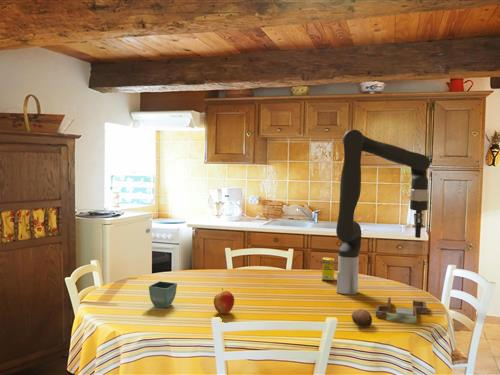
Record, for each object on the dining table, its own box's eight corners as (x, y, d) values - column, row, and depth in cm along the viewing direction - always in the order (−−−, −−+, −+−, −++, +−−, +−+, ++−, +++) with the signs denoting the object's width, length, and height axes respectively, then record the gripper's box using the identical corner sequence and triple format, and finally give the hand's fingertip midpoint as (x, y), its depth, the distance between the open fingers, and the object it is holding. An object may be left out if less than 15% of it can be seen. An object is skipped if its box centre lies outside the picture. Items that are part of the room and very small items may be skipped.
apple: (226, 318, 172) (226, 292, 172) (209, 314, 177) (209, 289, 176) (238, 312, 179) (238, 287, 178) (221, 308, 183) (221, 284, 183)
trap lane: (375, 318, 173) (375, 312, 173) (378, 302, 194) (378, 296, 194) (428, 325, 167) (428, 318, 167) (425, 307, 188) (425, 301, 188)
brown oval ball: (346, 312, 171) (354, 302, 168) (365, 319, 172) (373, 309, 169) (347, 328, 164) (356, 318, 161) (367, 336, 165) (376, 326, 162)
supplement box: (333, 281, 226) (334, 260, 225) (321, 281, 227) (322, 259, 226) (333, 278, 231) (334, 258, 231) (322, 278, 233) (322, 257, 232)
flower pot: (177, 303, 188) (177, 283, 188) (167, 310, 180) (167, 288, 179) (159, 301, 191) (159, 280, 191) (148, 307, 183) (148, 286, 182)
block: (396, 321, 172) (396, 312, 172) (396, 316, 177) (396, 307, 177) (412, 323, 170) (412, 314, 170) (412, 317, 176) (412, 309, 175)
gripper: (410, 197, 208) (408, 234, 209) (410, 200, 195) (409, 239, 196) (427, 198, 205) (425, 235, 206) (428, 200, 193) (427, 240, 194)
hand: (417, 237), depth 201 cm, fingers closed
